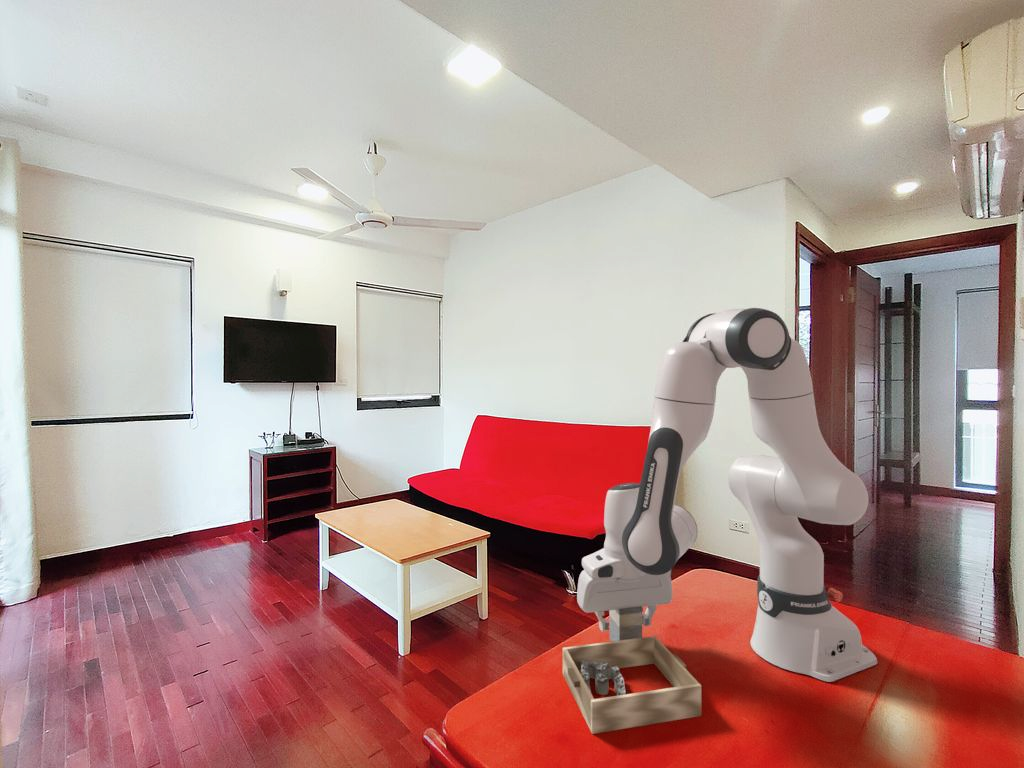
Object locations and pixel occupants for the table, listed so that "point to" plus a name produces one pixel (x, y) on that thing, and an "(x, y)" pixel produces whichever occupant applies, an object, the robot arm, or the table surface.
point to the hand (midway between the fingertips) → (625, 627)
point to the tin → (625, 623)
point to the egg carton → (602, 677)
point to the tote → (634, 706)
